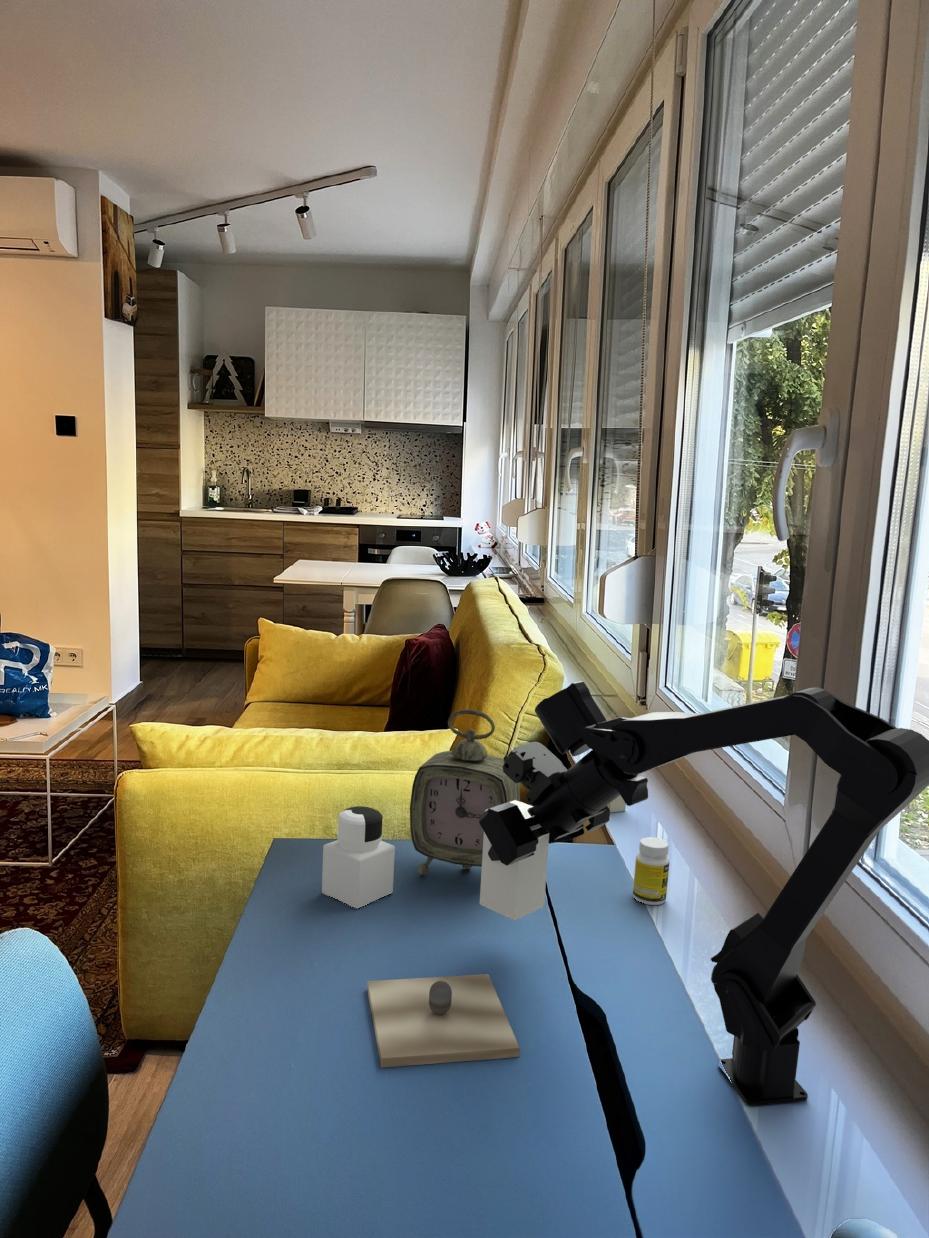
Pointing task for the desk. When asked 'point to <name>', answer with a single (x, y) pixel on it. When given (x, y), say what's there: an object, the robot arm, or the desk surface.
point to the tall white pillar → (515, 879)
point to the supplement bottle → (651, 871)
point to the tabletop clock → (457, 799)
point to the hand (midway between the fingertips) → (506, 850)
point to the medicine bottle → (358, 859)
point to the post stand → (439, 1020)
